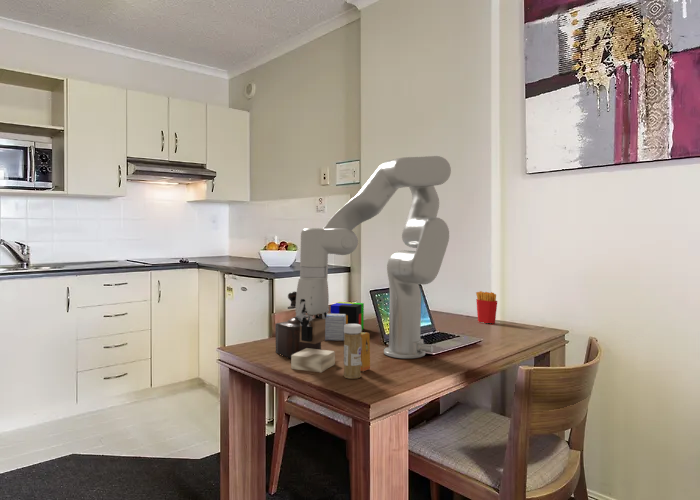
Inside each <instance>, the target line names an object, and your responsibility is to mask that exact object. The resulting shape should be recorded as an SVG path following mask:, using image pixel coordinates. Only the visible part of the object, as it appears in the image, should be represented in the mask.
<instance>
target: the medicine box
mask: <svg viewBox="0 0 700 500" xmlns="http://www.w3.org/2000/svg"><path fill="white" fill-rule="evenodd" d="M345 324H346V314H331V313H327V315H326V318H325V341H340V342H344V325H345Z"/></svg>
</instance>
